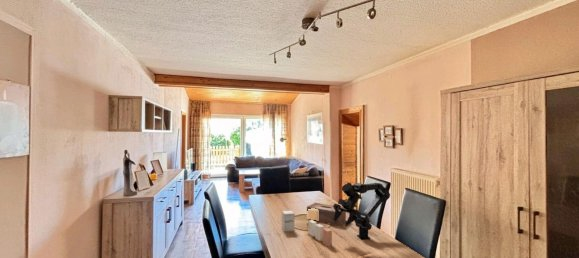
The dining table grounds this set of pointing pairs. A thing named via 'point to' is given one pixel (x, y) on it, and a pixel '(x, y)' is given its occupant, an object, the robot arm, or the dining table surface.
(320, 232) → the middle key
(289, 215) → the supplement box
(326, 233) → the terracotta key
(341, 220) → the tissue box cover
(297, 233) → the dining table surface
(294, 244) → the dining table surface
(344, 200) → the robot arm
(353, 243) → the dining table surface
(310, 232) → the far key
